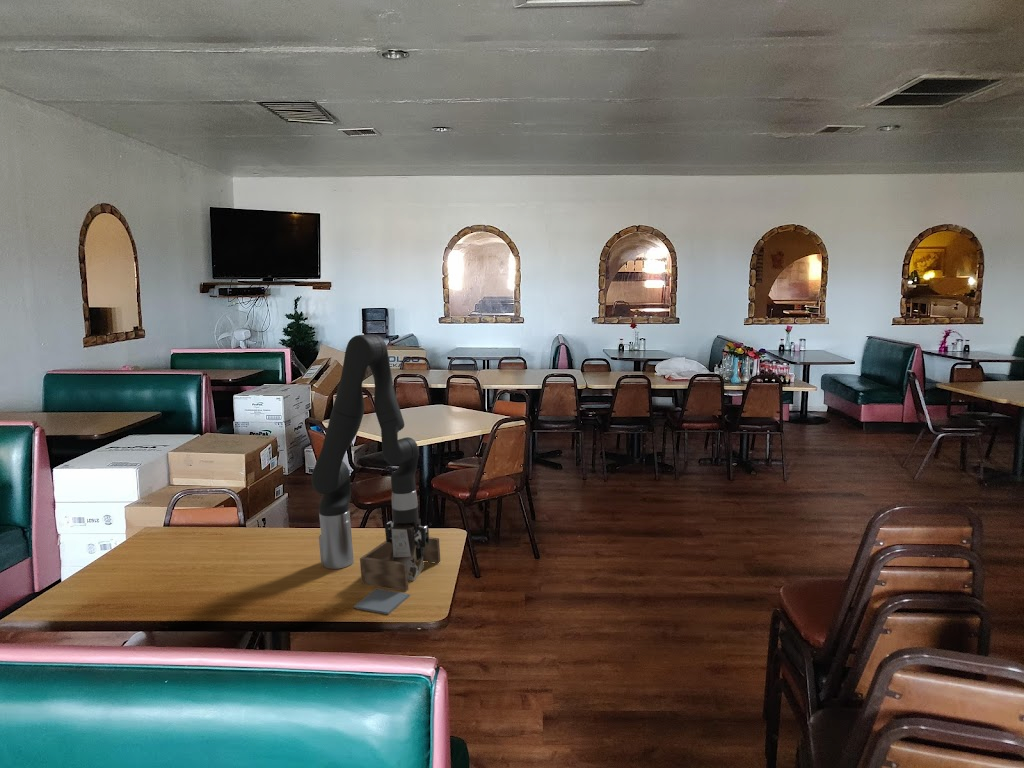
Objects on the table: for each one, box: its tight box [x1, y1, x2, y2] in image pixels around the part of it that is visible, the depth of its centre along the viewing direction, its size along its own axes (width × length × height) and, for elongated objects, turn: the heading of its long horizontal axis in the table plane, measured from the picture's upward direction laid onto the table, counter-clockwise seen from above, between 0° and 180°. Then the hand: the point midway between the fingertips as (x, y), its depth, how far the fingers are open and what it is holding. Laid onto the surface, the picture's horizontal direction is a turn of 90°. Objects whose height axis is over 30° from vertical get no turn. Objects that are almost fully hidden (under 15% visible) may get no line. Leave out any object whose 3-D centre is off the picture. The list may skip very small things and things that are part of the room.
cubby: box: [359, 536, 441, 592], centre depth 209 cm, size 15×20×8 cm
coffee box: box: [392, 518, 425, 582], centre depth 208 cm, size 9×6×16 cm
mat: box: [353, 588, 411, 615], centre depth 192 cm, size 11×11×1 cm
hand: (408, 557), depth 208 cm, fingers open, 7 cm apart
